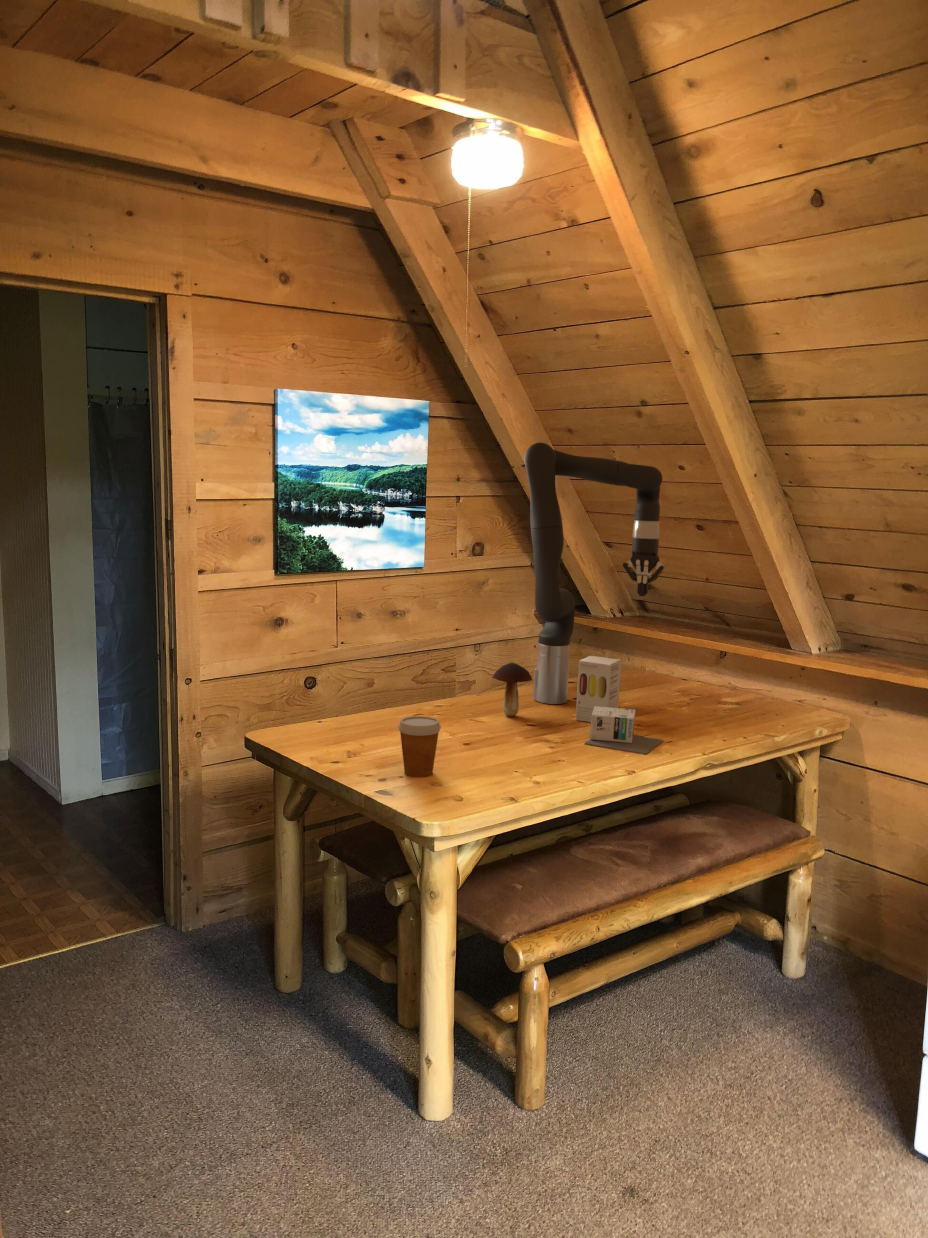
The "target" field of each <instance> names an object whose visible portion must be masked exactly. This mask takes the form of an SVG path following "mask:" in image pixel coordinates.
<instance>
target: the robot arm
mask: <svg viewBox="0 0 928 1238" xmlns="http://www.w3.org/2000/svg"><path fill="white" fill-rule="evenodd" d="M523 460H524V461H523V462H524V465H525V466H524V467H525V469H526V475H527V481H528V486H529V493H530V494H529V495H530V504H529V505H530V507H529V509H530V510H529V514H530V515H529V516H530V518H529V519H530V534H531V535H530V537H531V542H532V543H531V544H532V554H533V555H532V557H533V567H534V577H535V578H534V606H535V611H536V614H537V616H538V617H539V618H540V620H542V621H543V622H545V623H544V626H543V627H542V629H541V631H540V632H539V633H538V645H537V666H536V667H535V668H534V674H533V675H534V676H533V695H532V696H533V697H532V698H533V701H536V702H539V703H541V704H542V703H543V704H548V705H549V704H550V705H558V704H559V705H560V704H565V703H567V702H568V694H569V692H568V690H569V673H570V671H569V670H570V648H571V647H570V646H571V638H572V635H573V632H574V624H575V615H576V614H575V613H576V603H575V597H574V596H573V594H572V593H571V592H570V591H569V590H568V589H566V588H562V587H560V581H559V568H560V563H561V559H562V556H563V551H564V550H563V549H564V541H565V539H564V538H565V537H564V527H563V525H564V524H563V519H562V514H561V509H560V504H559V500H558V496H557V491H556V490H557V488H556V487H557V486H556V476H559V477H560V476H562V477H564V476H565V477H571V478H578V479H582V480H586V481H591V482H596V483H600V484H605V485H611V486H618V487H627V488H631V489H635V492H636V493H635V494H636V501H635V508H634V522H633V527H632V541H631V542H632V544H631V546H632V547H631V554H630V556H629V559H628V560H627V561H626V562H623V563H622V567H623V568H624V570H625V572H626V573H627V575H628V576H629V577H630V580H632V581H634V582H636V583H637V594H638V596H639V597H643V598H644V597H646V596H647V595H648V594H649V585H650V583H653V582H656V580H657V579H658V578H659V577H660V576H661V574H663V572H664V571H665V570H666V569H667V566H666V565H665V564H663V563H662V562H660V557H659V549H660V548H659V547H660V546H659V545H660V542H659V541H660V529H661V528H660V513H661V507H660V492H661V485H662V483H663V474H662V472H661V471H660V469H659V468H657V467H654V466H652V465H643V464H634V463H629V462H625V461H621V460H618V459H617V460H615V459H610V458H605V457H604V458H603V457H592V456H581V455H576V454H575V455H574V454H569V453H566V452H562V451H560V450H556V449H554V448H553V447H552V446H551V445H549V444H548V443H545V442H535V443H533V444H531V445H530V446H529V447H528V448H527V449H526V451H525V452H524V457H523ZM633 567H634V568H635V570H634V568H633ZM654 569H656V570H655V571H654V573H653V574H652V571H653V570H654ZM635 571H636V572H635Z"/></svg>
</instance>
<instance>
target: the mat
mask: <svg viewBox="0 0 928 1238" xmlns="http://www.w3.org/2000/svg"><path fill="white" fill-rule="evenodd" d="M664 741H665V740H663V739H659V738H652V737H646V736H640V735H635V734H633V739H632V743H624V742H614V741H603V740H591V739H590V738H589V740H587V741H586V742H584V745H588V746H595V747H599V748H603V749H604V748H605V749H611V750H617V751H623V752H629V753H634V754H641V755H648V754H649V753H650V752H652V750H654V749H655V748H657V747H658V746H659V745H660V744H662V743H663V742H664Z"/></svg>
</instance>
